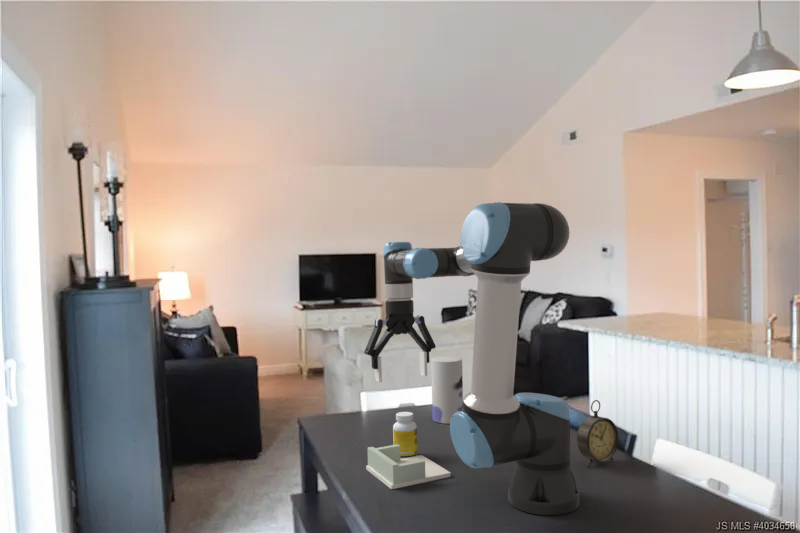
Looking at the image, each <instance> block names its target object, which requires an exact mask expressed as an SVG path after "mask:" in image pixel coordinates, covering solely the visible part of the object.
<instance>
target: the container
mask: <svg viewBox="0 0 800 533" xmlns="http://www.w3.org/2000/svg"><path fill="white" fill-rule="evenodd" d="M430 362H431V363H430V365H431V366H430V367H431V368H430V369H431V370H430V371H431V401H432V402H431V403H432V404H431V405H432V407H431V409H432V410H431V412H432V416H431V417H432V421H433V422H435V423H438V424H449V425H450V421H451V418H452V416H453V415H454V414H455V413H457V412H458V411H462V410H463V398H464V387H463V384H464V382H463V359H462V357H459V356H449V355H447V356H445V355H444V356H443V355H442V356H435V357H432V358H431V360H430Z"/></svg>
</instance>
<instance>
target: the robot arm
mask: <svg viewBox="0 0 800 533" xmlns="http://www.w3.org/2000/svg"><path fill="white" fill-rule="evenodd" d="M461 226H462V227H461V231H460V238H459V239H460V240H459V241H460V246H457V247H426V248H425V247H416V248H413V247H412V243H411V242H410V241H392V242H391V241H390V242H386V243H385V244H384V248H383V250H384V251H383V266H384V296H385V297H384V298H385V299H387V300H386V301H385V319H382V318H375V320H374V325H373V326H374V327H373V330H372V332H371V335H370V336H369V337H370V338H369V339H368V342H367V344H366V347H365V349H364V352H363V353H364V354H365V355H367V356H370V357H371V368H372V369H373V370H374V381H376V382H378V383H382V382H383V376H382V374H383V373H382V369H383V368H382V356H379V355H380V354H381V353H382V351H383V350H384V348H385V347H386V345H387V344H388V343H389V341H390V340H391V338H392V337H394V335H396V336H397V335H401V334H403V335H409V336H410V337H411V338H412V339H413V340H414V342H415V343H416V344H417V345H418V346H419V348H420V349H421V350H419V374H420V376H423V377H428V364H429V363H430V352H432V350H433V349H436V346H437V345H436V344H435V341H434V339H433V337H432V335H431V333H430V331H429V330H428V326H427V325H426V321H425V316H423V315H416V316H414V312H415V311H414V301H413V298H414V284H413V283H414V282H413V281H414V280H413V279H416V280H420V279H422V280H423V279H428V278H445V277H471V276H476V278H477V286H476V288H477V289H476V307H475V308H476V309H475V319H474V320H475V321H474V322H475V323H474V337H473V338H474V339H473V356H472V368H471V385H470V386H471V387H470V391H469V392H468V393H467V394H465V395H463V410H462V411H458V412H457V413H455V414H454V415H453V416H452V418H451V421H450V424H449V431H450V438H451V441H452V445H453V447H454V449H455V452H456V454H457V455H458V457H459V458H460V460H461V461H462V462H463V463H464V464H465V465H466V466H468V467H470V468H472V469H482V468H488V469H489V468H492V467H494V466H498V465H502V464H507V463H511V462H515V466H514V470H513V473H512V477H511V479H510V480H511V481H510V483H509V486H508V488H507V496H508V498H507V499H508V502H509V504H510V505H511V506H512V507H514V508H516V509H517V510H519V511H522V512H525V513H530V514H534V515H539V516H558V515H565V514H569V513H572V512H575V511H576V510H577V509H578V508H579V506H580V492H579V489H578V487H577V483H576V480H575V477H574V474H573V471H572V468H571V417H570V406H569V404H568V402H567V401H566V400H565V399H563V398H561V397H558V396H554V395H550V394H546V393H545V394H544V393H537V392H536V393H535V392H518V393H515V395H514V388H515V375H516V373H515V372H516V363H517V362H516V361H517V360H516V359H517V358H516V357H517V346H518V345H517V344H518V335H519V334H518V333H519V332H518V331H519V319H520V317H519V316H520V305H521V294H522V293H521V292H522V281H523V280H524V279H525V278H526V277H527V276H529V275H530V274H531V262H537V261H539V262H540V261H546V260H550V259H553V258H555V257H558V255H560V254H561V253H562V252H563V251H564V250H565V249H566V246H567V245H568V243H569V240H570V227H569V223H568V220H567V219H566V217H565V216H564V214H563V213H562V212H561V211H560V209H557V208H555V207H553V206H552V205H550V204H546V203H540V202H539V203H537V202H536V203H529V202H528V203H527V202H525V203H524V202H523V203H521V202H520V203H519V202H500V201H499V202H489V203H482V204H478V205H476V206H474V207H473V208H472V209H471V211H470V212H469V213H468V214H467V216H466V217H465V220H464V221H463V224H462V225H461ZM415 324H416V325H417V327H418V330H419V331H420V333H421V335H420V334H419V333H418V332H417V330H416V329H415V328H414V325H415ZM385 325H386V327H387V328H386V329H385V330H384V332H383V334H382V336H381V337H380V335H381V333H382V330H383V328H384V327H385ZM421 336H422V337H423V338H422V337H421ZM379 338H380V339H379ZM378 340H379V341H378Z"/></svg>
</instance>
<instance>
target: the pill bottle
mask: <svg viewBox="0 0 800 533" xmlns="http://www.w3.org/2000/svg"><path fill="white" fill-rule="evenodd" d="M395 420H396V422H395V423H394V424H393V425H392V435H393V436H392V438H393V439H392V440H393V444H392V445H396V444H398V445H400V459H403V458H408V457H413V456H418V426H417V423H416V422H415V421H413V420H414V413H413V412H411V411H399V412H397V413H396V414H395Z"/></svg>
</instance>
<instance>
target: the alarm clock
mask: <svg viewBox="0 0 800 533" xmlns="http://www.w3.org/2000/svg"><path fill="white" fill-rule="evenodd" d="M596 402H597V403H598V405H599V406H598V410H594V409H593V405H594V403H596ZM600 410H601V402H600V401H599V400H598V399H595V400H593V401H592V402H591V405H590V411H591V412H592V413H593V415H590V416H588V417H586V418H585V419H584V420H583V421H582V422H581V424H580V425H579V427H578V430H577V433H576V444H577V448H578V450H579V451H580V452H579V453H580V454H581V455H582V456H583V457H585V458H586V459H587V460H588V463H587V466H586V468H588V469H589V468H590V466H591V464H592V463H593V461H594V462H595V461H596V462H598V463H605V462H607V461H609V460H611V461H612V462H614V458H613V456H614V455H615V453H616V451H617V449H618V445H619V432H618V428H617V425H616V424H615V422H614V421H612V420H611V419H609V418H608V417H604V416H598V415H599V414H598V413H599V412H600Z"/></svg>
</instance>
